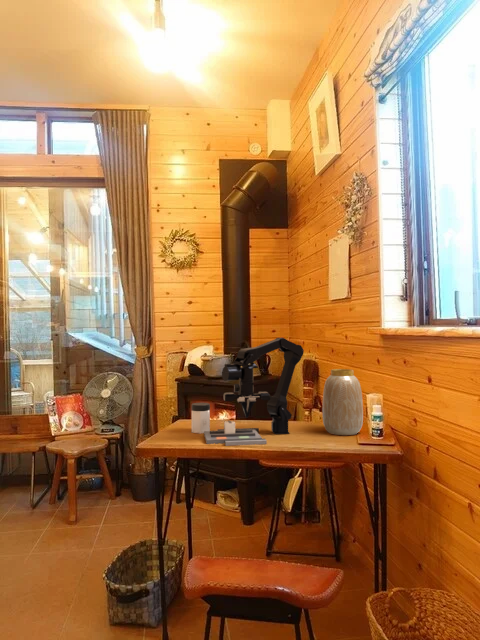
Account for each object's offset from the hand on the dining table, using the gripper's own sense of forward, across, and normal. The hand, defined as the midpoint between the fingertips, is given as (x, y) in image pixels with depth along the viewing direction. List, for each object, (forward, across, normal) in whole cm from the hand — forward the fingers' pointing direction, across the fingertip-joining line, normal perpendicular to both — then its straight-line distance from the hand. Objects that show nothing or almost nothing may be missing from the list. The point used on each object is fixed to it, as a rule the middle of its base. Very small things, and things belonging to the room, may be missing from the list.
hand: (246, 417), depth 186 cm
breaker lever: (+7, +7, 0) cm, 10 cm away
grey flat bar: (+8, +2, +9) cm, 13 cm away
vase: (+9, -43, -4) cm, 44 cm away
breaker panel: (+8, +6, 0) cm, 10 cm away
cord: (+8, +2, -10) cm, 13 cm away
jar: (+8, +18, -15) cm, 25 cm away
